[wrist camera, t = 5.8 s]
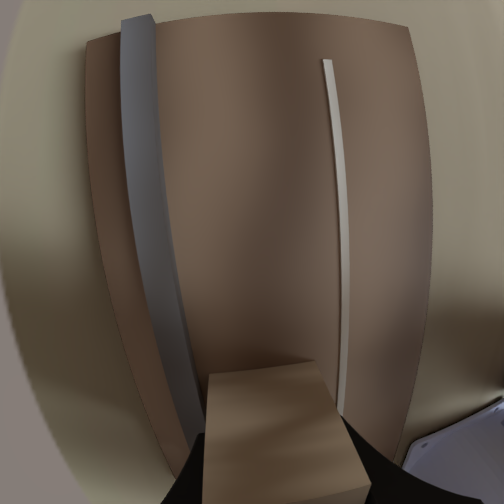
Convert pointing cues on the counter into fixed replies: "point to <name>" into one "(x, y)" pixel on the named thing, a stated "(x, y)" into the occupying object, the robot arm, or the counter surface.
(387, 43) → the walnut board
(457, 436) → the robot arm
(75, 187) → the counter surface
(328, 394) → the maple block
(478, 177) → the counter surface
